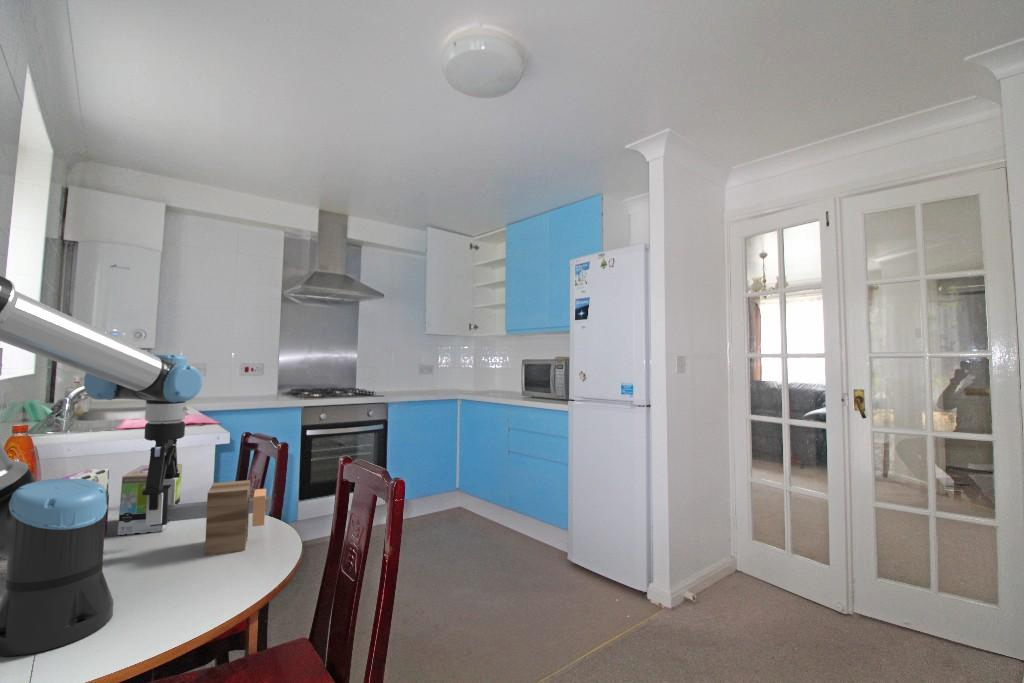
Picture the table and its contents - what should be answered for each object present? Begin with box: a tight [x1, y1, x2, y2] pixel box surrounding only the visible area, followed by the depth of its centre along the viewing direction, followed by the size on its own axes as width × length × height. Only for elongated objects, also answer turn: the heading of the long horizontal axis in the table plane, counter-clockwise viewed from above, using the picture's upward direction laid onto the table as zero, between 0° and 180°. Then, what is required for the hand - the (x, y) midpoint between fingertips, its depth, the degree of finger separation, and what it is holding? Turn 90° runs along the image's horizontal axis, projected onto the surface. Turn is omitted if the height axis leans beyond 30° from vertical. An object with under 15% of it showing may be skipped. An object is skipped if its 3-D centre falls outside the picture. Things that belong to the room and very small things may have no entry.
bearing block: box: [204, 479, 251, 557], centre depth 116 cm, size 10×8×14 cm
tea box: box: [117, 463, 183, 536], centre depth 129 cm, size 15×10×15 cm
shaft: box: [150, 485, 272, 526], centre depth 115 cm, size 4×24×8 cm, turn 115°
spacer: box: [251, 488, 267, 527], centre depth 119 cm, size 7×2×7 cm, turn 25°
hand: (160, 515), depth 111 cm, fingers open, 13 cm apart
